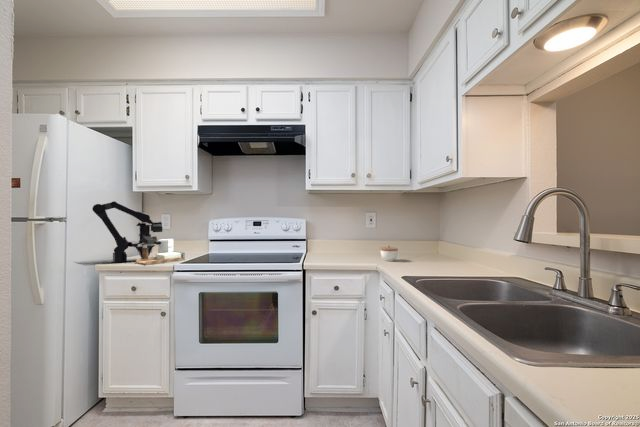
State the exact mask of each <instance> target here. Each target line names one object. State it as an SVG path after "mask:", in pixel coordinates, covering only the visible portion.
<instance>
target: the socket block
mask: <svg viewBox="0 0 640 427" xmlns="http://www.w3.org/2000/svg"><path fill="white" fill-rule="evenodd" d="M180 257H181V253H174V252H171V253H161V254H158V253H156V254H155V258H156V259H157V260H164V259H172V258H180Z"/></svg>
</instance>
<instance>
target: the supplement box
mask: <svg viewBox="0 0 640 427" xmlns="http://www.w3.org/2000/svg"><path fill="white" fill-rule="evenodd" d="M159 240H160V241H161V244H160V245H157V247H158V250H157V251H158V252H157V254H161V253H171V252H172V251H174V238H167V239H166V238H163V239H159Z"/></svg>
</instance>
